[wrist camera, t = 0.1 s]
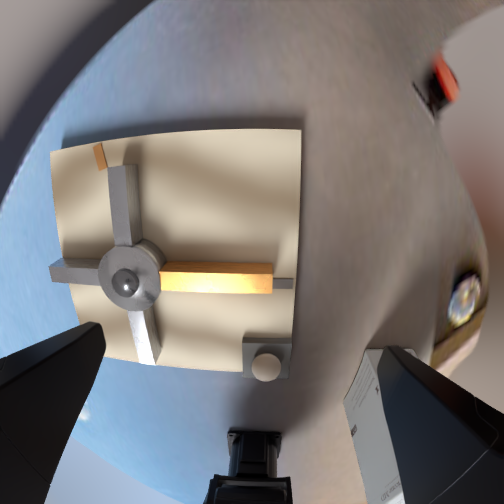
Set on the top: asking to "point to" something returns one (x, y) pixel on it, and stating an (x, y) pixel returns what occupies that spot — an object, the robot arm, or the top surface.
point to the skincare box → (373, 433)
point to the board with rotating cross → (194, 239)
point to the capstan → (150, 268)
